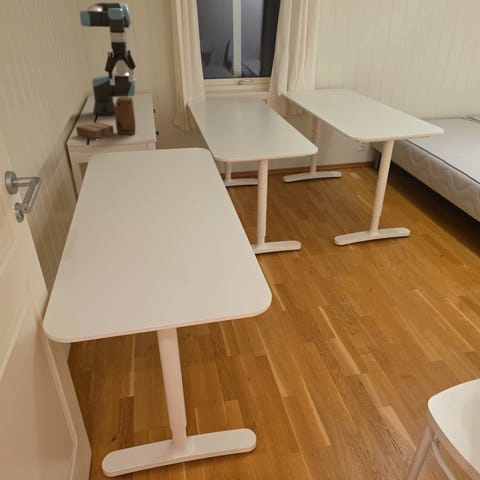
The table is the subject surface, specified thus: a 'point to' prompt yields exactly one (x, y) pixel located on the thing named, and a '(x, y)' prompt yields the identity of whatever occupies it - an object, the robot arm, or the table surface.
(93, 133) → the walnut base
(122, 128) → the block
